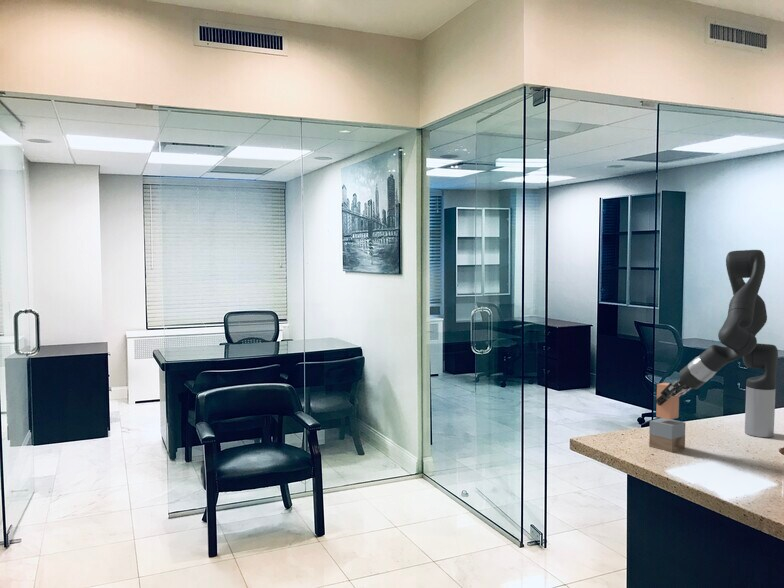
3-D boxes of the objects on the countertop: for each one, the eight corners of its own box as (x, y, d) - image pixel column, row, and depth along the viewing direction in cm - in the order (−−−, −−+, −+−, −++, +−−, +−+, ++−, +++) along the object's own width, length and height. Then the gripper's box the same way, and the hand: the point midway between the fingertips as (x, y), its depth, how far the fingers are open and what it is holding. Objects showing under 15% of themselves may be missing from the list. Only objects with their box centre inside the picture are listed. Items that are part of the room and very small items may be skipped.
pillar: (664, 414, 213) (665, 382, 213) (678, 417, 209) (679, 384, 209) (656, 416, 210) (657, 384, 210) (670, 419, 206) (671, 386, 206)
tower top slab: (662, 430, 216) (663, 417, 215) (685, 435, 209) (685, 422, 209) (649, 434, 211) (649, 420, 211) (671, 439, 204) (672, 425, 204)
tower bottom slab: (662, 443, 216) (662, 430, 216) (684, 449, 209) (685, 435, 209) (649, 447, 211) (649, 434, 211) (671, 453, 205) (672, 439, 204)
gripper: (702, 360, 207) (666, 390, 217) (678, 364, 198) (643, 395, 209) (717, 378, 203) (680, 408, 213) (694, 383, 194) (657, 414, 205)
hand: (662, 402), depth 211 cm, fingers closed on pillar, 5 cm apart
